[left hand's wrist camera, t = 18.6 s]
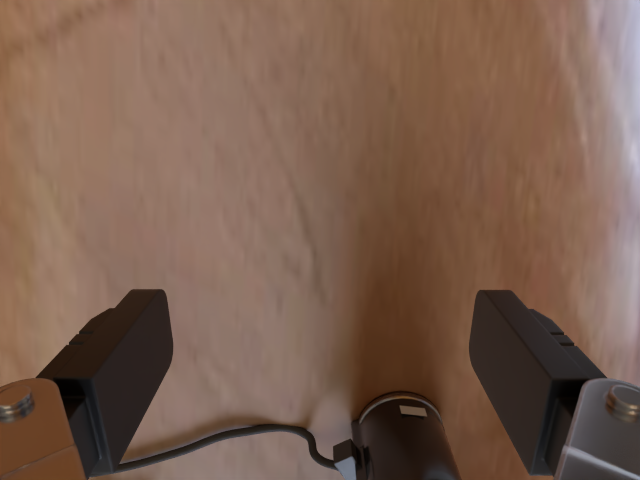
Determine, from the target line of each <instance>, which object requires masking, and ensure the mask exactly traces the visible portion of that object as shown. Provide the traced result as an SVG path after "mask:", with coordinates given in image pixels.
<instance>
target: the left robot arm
mask: <svg viewBox="0 0 640 480" xmlns="http://www.w3.org/2000/svg"><path fill="white" fill-rule="evenodd" d="M469 355H470V360H471V364H472V367H473V369H474V371H475V373H476V375H477V377H478V378H479V380H480V382H481V384H482V386H483V388H484V390H485V392H486V394H487V396H488V397H489V399H490V401H491V403H492V405H493V407H494V409H495V411H496V413H497V414H498V416H499V418H500V420H501V422H502V424H503V426H504V428H505V430H506V432H507V433H508V435H509V437H510V439H511V441H512V443H513V445H514V447H515V449H516V450H517V452H518V454H519V456H520V458H521V460H522V462H523V464H524V466H525V468H526V469H527V471H528V473H529V475H553V477H554V480H640V387H638V386H636V385H633V384H630V383H627V382H624V381H620V380H616V379H609V378H607V377H606V376H605V375H604V374H603V373H602V372H601V371H600V370H599V369H598V368H597V367H596V366H595V365H594V364H593V362H592V361H591V360H590V359H589V358H588V357H587V356H586V355H585V354H584V353H583V352H582V351H581V350H580V349H579V348H578V347H577V346H574V343H573V342H572V341H571V340H570V338H569V337H568V336H567V335H564V332H563V331H562V330H561V329H560V328H559V327H558V326H557V325H556V324H555V323H554V322H553V321H552V320H551V319H549V318H548V317H546V316H544V315H542V314H541V313H539V312H537V311H535V310H534V309H528V308H527V307H526V306H525V305H524V304H523V303H522V302H521V300H520V299H519V298H518V297H517V296H516V295H515V294H514V293H513V292H512V291H511V290H480V291H478V293H477V295H476V299H475V305H474V312H473V319H472V327H471V334H470V341H469ZM172 356H173V338H172V331H171V324H170V317H169V309H168V302H167V297H166V293H165V292H164V290H162V289H133V290H131V291H130V292H129V293H128V294H127V295H126V296H125V297H124V298H123V299H122V301H121V302H120V303H119V304H118V305H117V306H116V307H115V308H109V309H108V310H106V311H104V312H102V313H101V314H99V315H97V316H96V317H94V318H92V319H91V320H90V321H89V322H88V323H87V324H86V325H85V326H84V327H83V328H82V329H81V330H80V331H79V334H77V335H76V336H75V337H74V338H73V339H72V340H71V341H70V342H69V345H66V346H65V347H64V348H63V349H62V350H61V351H60V352H59V353H58V355H57V356H56V357H55V358H54V359H53V360H52V361H51V362H50V363H49V364H48V365H47V366H46V367H45V368H44V369H43V370H42V371H41V372H40V373H39V375H38V376H37V377H36V378H31V379H24V380H20V381H16V382H13V383H10V384H7V385H4V386H2V387H0V480H88V478H89V477H95V476H102V475H108V474H114V473H118V472H123V471H128V470H132V469H136V468H140V467H144V466H148V465H151V464H155V463H158V462H161V461H165V460H168V459H171V458H175V457H178V456H181V455H184V454H187V453H190V452H192V451H195V450H197V449H200V448H202V447H205V446H207V445H210V444H212V443H215V442H218V441H221V440H225V439H229V438H234V437H241V436H248V435H254V434H260V433H266V432H275V431H284V432H291V433H294V434H297V435H299V436H301V437H303V438H305V439H306V440H307V441H308V444H309V452H310V455H311V457H312V458H313V459H314V460H315V461H316V462H317V463H318V464H320V465H322V466H324V467H327V468H331V469H334V470H337V471H339V472H340V473H341V474H342V476H343V477H344V478H345V480H462V479H461V477H460V474H459V471H458V468H457V465H456V462H455V459H454V457H453V454H452V451H451V448H450V445H449V442H448V440H447V437H446V434H445V430H444V427H443V424H442V420H441V417H440V414H439V412H438V410H437V408H436V407H435V406H434V405H433V404H432V403H431V402H430V401H429V400H427V399H426V398H424V397H422V396H419V395H417V394H413V393H406V392H398V393H391V394H387V395H384V396H381V397H379V398H377V399H375V400H374V401H372V402H371V403H370V404H369V405H368V406H367V407H366V408H365V409H364V410H363V411H362V413H361V415H360V417H359V419H358V420H356V421H354V422H352V423H351V428H352V439H353V441H352V440H351V439H349V440H346V441H344V442H342V443H340V444H337V445H335V446H333V457H334V461H333V460H330V459H327V458H324V457H323V456H321V455H320V454H319V453H318V451H317V448H316V442H315V438H314V436H313V435H312V434H311V433H310V432H308V431H307V430H305V429H303V428H300V427H296V426H288V425H278V424H268V425H260V426H254V427H248V428H241V429H234V430H229V431H225V432H221V433H218V434H215V435H212V436H209V437H207V438H204V439H202V440H200V441H197V442H195V443H192V444H190V445H187V446H184V447H181V448H178V449H175V450H172V451H168V452H165V453H162V454H158V455H155V456H152V457H148V458H145V459H141V460H137V461H133V462H129V463H124V464H119V463H120V461H121V459H122V457H123V455H124V453H125V451H126V449H127V447H128V445H129V444H130V442H131V440H132V438H133V436H134V434H135V432H136V430H137V428H138V426H139V424H140V422H141V421H142V419H143V417H144V415H145V413H146V411H147V409H148V407H149V405H150V403H151V401H152V399H153V397H154V396H155V394H156V392H157V390H158V388H159V386H160V384H161V382H162V380H163V378H164V376H165V374H166V373H167V371H168V369H169V367H170V364H171V361H172Z"/></svg>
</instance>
